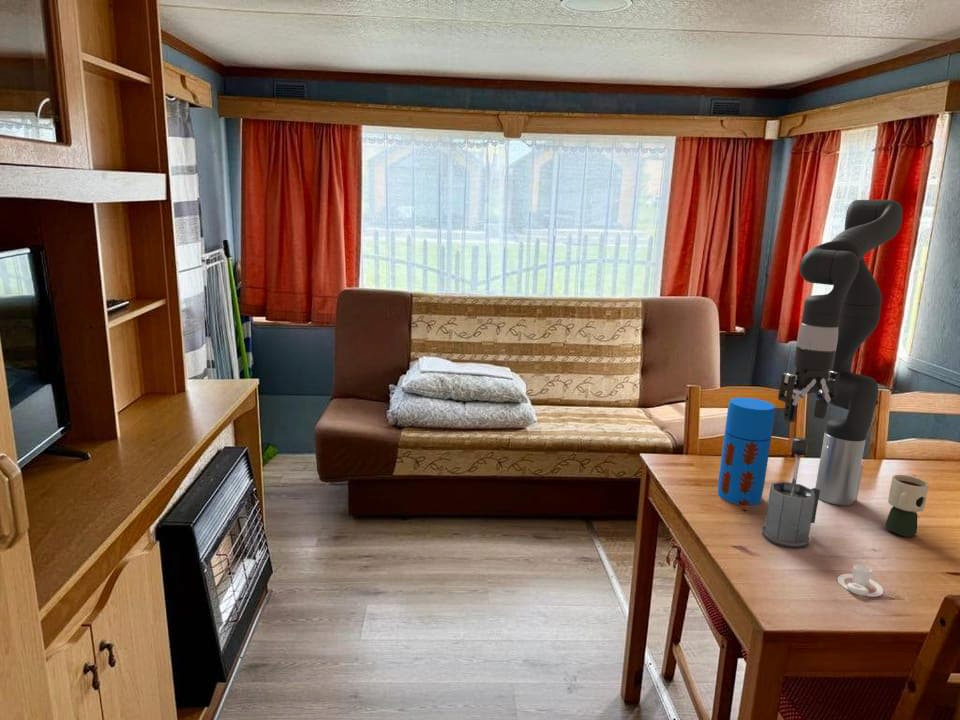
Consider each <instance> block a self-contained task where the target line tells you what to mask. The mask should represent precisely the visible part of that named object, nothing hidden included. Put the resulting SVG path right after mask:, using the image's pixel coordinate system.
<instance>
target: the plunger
mask: <svg viewBox="0 0 960 720" xmlns="http://www.w3.org/2000/svg"><path fill="white" fill-rule="evenodd" d="M808 446H809V440H808V439H807V438H804V437H793V439H792V444H791V450H790V451H791V453H792V454H794V455H796V457H795V462H794V466H793V467H794V468H793V474H792V480H791V483H792V486H791V492H780V493H782V494H784V495H786V496H792V497H797V498H805V497H804V496H801V495H799V494H796V493H794V492H795V486H796V484H797V478H798V474H799V473H798V472H799V467H800V461H801V456H807V453H808Z"/></svg>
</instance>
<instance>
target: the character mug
mask: <svg viewBox="0 0 960 720" xmlns="http://www.w3.org/2000/svg"><path fill="white" fill-rule="evenodd" d="M929 486H930V485H929V483H928V482H927V481H925V480H923V479H921V478H918V477H915V476H911V475H907V474H906V475H905V474H895V475H893V476H892V478H891V484H890V488H889V493H888V498H887V499H888V501H887V502H888V504H889V505H890V506H892V507H891V508H890V511H889V513H888V514H887V515H888V516H887V518H886V520H885V525H884V528H885V529H886V530H888V531H890V532H893V533H895V534H897V535H898V536H903V537H909V538H912V537H916V535H917V532H918V512H923V511H924V509H925V505H926V501H927V496H928V491H929Z"/></svg>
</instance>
